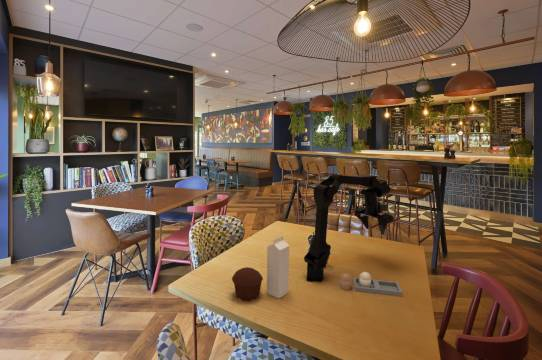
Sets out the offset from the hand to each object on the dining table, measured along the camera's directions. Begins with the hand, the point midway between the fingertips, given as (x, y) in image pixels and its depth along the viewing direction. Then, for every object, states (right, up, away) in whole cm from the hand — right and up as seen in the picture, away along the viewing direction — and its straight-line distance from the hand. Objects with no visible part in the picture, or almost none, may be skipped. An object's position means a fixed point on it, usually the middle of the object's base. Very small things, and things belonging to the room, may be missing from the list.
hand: (375, 231), depth 137 cm
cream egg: (-12, -18, -21) cm, 30 cm away
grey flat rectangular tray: (-8, -19, -22) cm, 30 cm away
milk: (-47, -19, -26) cm, 57 cm away
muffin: (-58, -19, -27) cm, 67 cm away
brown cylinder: (-20, -19, -22) cm, 35 cm away
